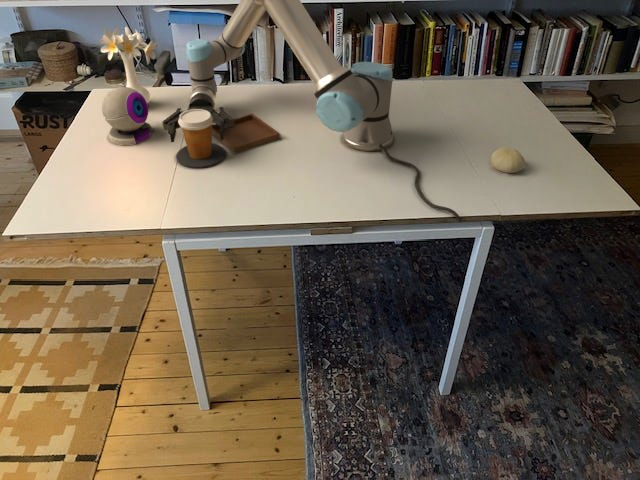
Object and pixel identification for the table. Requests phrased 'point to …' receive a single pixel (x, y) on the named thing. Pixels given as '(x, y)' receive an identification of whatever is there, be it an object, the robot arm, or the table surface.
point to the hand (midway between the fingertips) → (196, 137)
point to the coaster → (212, 160)
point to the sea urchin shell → (507, 160)
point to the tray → (246, 133)
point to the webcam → (126, 116)
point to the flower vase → (128, 54)
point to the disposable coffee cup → (197, 132)
